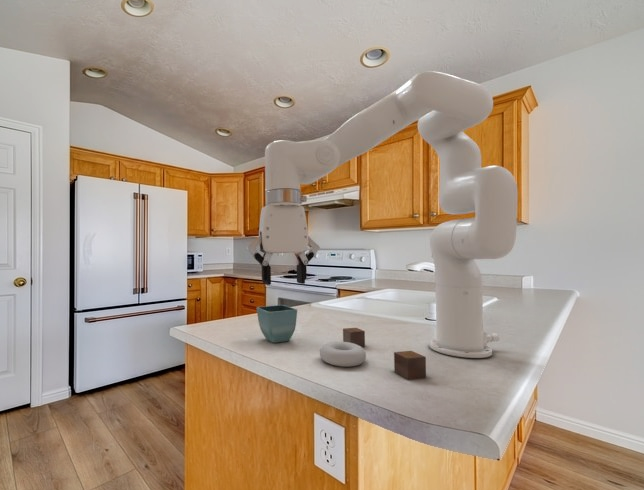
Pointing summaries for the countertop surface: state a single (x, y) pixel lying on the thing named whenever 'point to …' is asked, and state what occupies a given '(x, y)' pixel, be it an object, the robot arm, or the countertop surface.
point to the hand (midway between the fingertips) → (284, 283)
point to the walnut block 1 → (354, 336)
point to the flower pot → (277, 322)
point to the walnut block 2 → (410, 364)
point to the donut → (343, 354)
